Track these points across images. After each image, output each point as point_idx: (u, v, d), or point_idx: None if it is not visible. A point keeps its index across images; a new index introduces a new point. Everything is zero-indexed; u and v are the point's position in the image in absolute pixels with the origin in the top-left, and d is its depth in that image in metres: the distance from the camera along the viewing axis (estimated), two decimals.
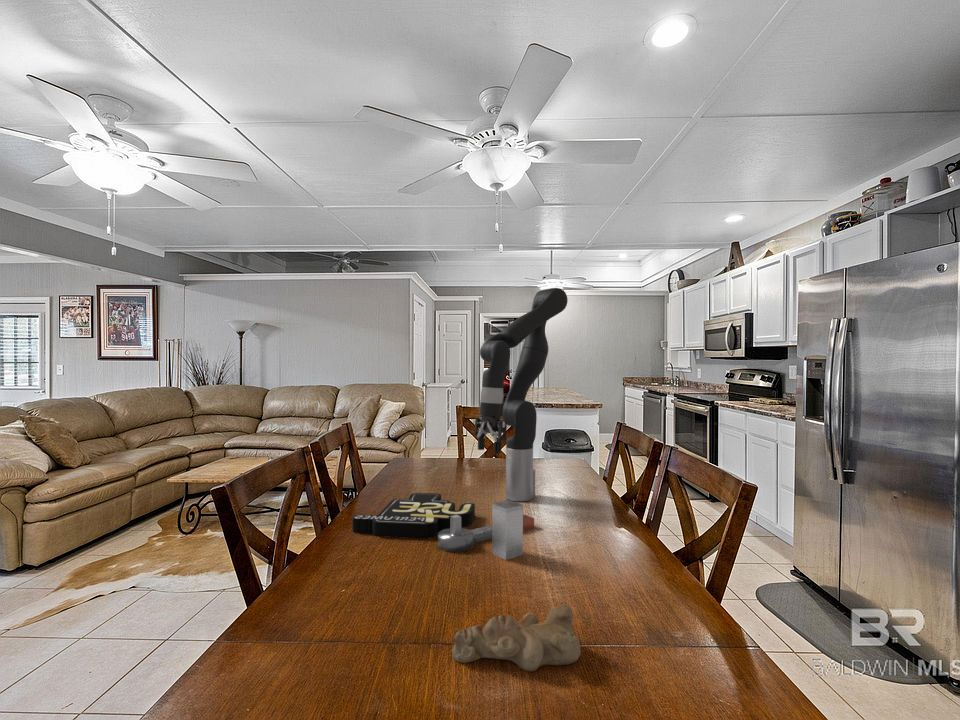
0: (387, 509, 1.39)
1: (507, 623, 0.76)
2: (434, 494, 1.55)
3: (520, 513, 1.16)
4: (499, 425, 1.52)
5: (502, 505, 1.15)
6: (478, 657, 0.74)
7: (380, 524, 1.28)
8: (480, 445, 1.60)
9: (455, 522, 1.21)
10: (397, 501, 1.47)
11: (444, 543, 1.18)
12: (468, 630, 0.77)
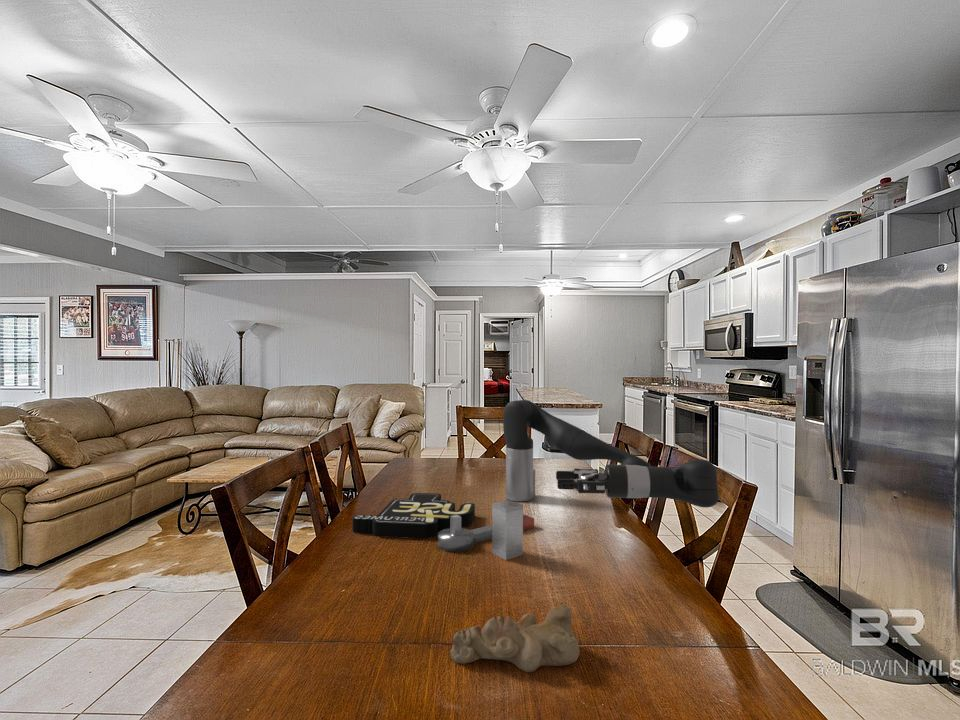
0: (387, 509, 1.39)
1: (506, 624, 0.76)
2: (434, 494, 1.55)
3: (520, 513, 1.16)
4: (599, 481, 1.08)
5: (502, 505, 1.15)
6: (477, 658, 0.74)
7: (380, 524, 1.28)
8: (562, 473, 1.19)
9: (455, 522, 1.21)
10: (397, 501, 1.47)
11: (444, 543, 1.18)
12: (467, 631, 0.77)
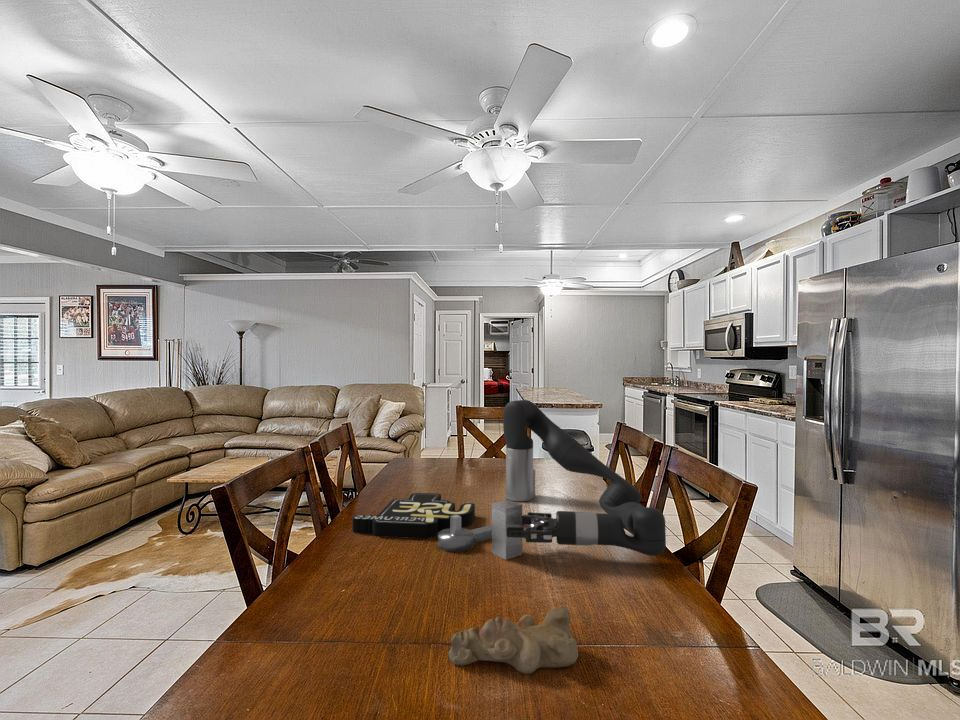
0: (387, 509, 1.39)
1: (504, 625, 0.75)
2: (434, 494, 1.55)
3: (519, 513, 1.16)
4: (546, 530, 1.09)
5: (501, 505, 1.15)
6: (475, 660, 0.73)
7: (380, 524, 1.28)
8: None
9: (455, 522, 1.21)
10: (397, 501, 1.47)
11: (444, 543, 1.18)
12: (465, 632, 0.76)
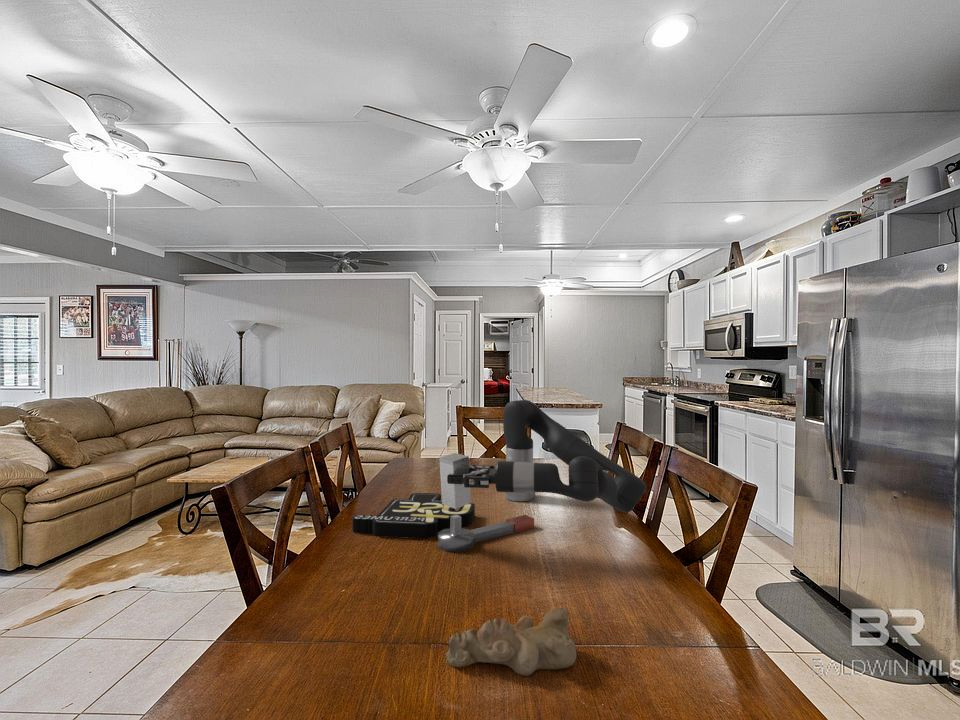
0: (387, 509, 1.39)
1: (502, 626, 0.75)
2: (434, 494, 1.55)
3: (466, 464, 1.21)
4: (483, 477, 1.15)
5: (449, 459, 1.20)
6: (472, 661, 0.73)
7: (380, 524, 1.28)
8: None
9: (455, 522, 1.21)
10: (397, 501, 1.47)
11: (444, 543, 1.18)
12: (462, 634, 0.76)
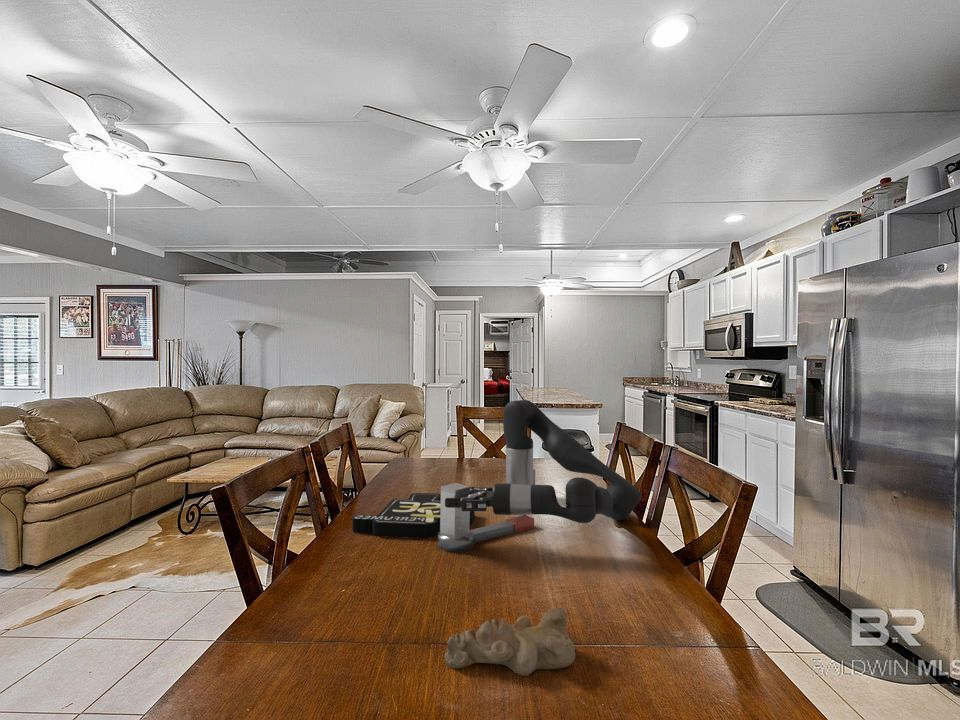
0: (387, 509, 1.39)
1: (501, 627, 0.75)
2: (434, 494, 1.55)
3: (467, 494, 1.21)
4: (480, 500, 1.15)
5: (451, 488, 1.20)
6: (471, 662, 0.73)
7: (380, 524, 1.28)
8: None
9: None
10: (397, 501, 1.47)
11: (444, 543, 1.18)
12: (461, 635, 0.76)
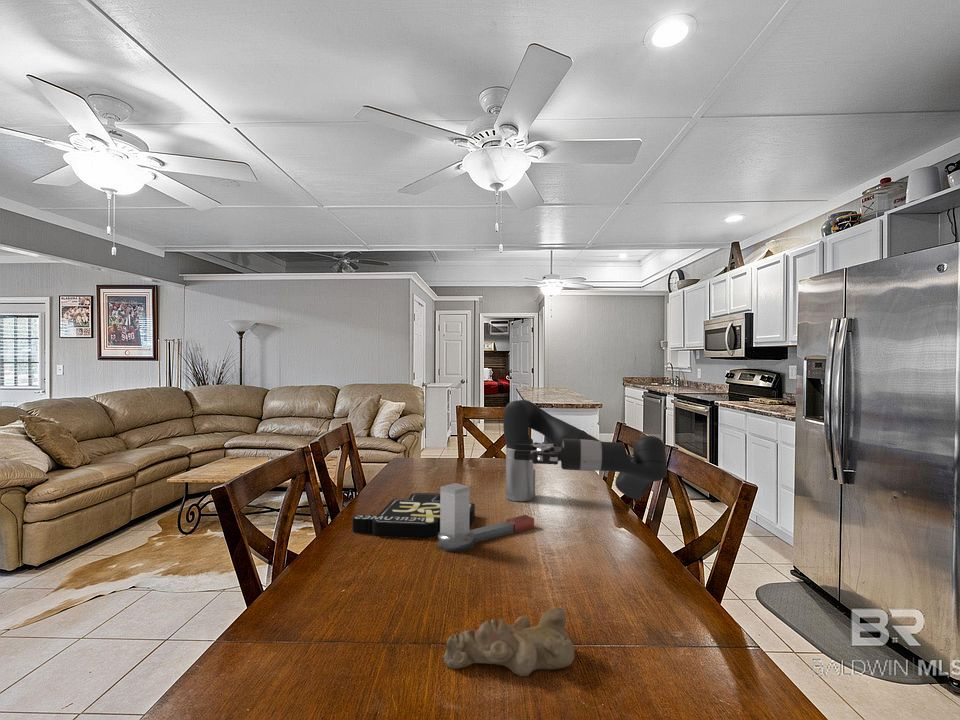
0: (387, 509, 1.39)
1: (500, 627, 0.75)
2: (434, 494, 1.55)
3: (467, 494, 1.22)
4: (552, 453, 1.13)
5: (450, 488, 1.20)
6: (470, 662, 0.73)
7: (380, 524, 1.28)
8: (521, 446, 1.24)
9: None
10: (397, 501, 1.47)
11: (444, 543, 1.18)
12: (460, 635, 0.75)
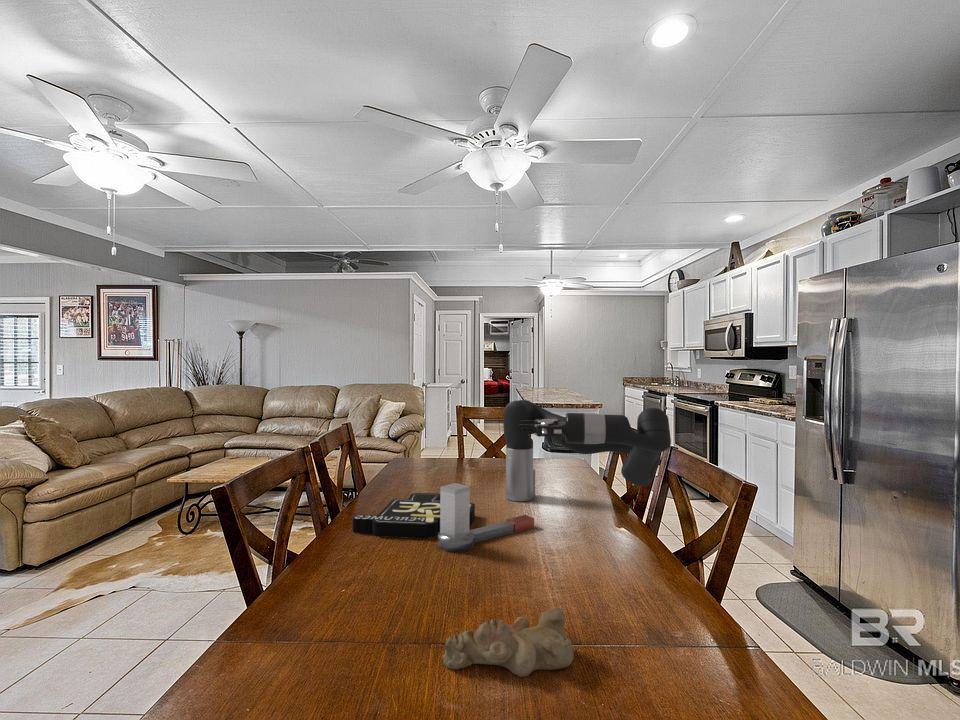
0: (387, 509, 1.39)
1: (499, 628, 0.75)
2: (434, 494, 1.55)
3: (467, 494, 1.22)
4: (556, 426, 1.15)
5: (450, 488, 1.20)
6: (470, 663, 0.72)
7: (380, 524, 1.28)
8: (525, 422, 1.26)
9: None
10: (397, 501, 1.47)
11: (444, 543, 1.18)
12: (459, 636, 0.75)
